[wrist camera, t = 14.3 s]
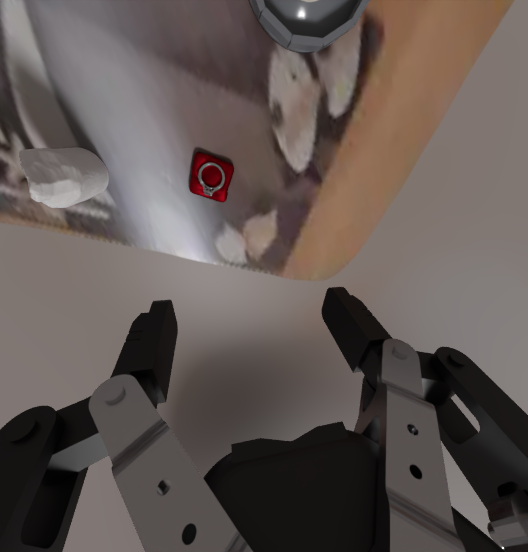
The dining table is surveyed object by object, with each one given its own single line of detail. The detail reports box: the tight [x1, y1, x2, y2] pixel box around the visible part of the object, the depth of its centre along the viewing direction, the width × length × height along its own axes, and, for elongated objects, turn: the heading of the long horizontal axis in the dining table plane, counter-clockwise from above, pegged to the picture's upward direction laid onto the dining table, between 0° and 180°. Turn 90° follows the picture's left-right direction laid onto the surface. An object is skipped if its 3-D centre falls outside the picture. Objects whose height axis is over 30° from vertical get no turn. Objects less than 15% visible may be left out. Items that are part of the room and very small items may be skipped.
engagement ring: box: [189, 152, 234, 202], centre depth 33 cm, size 6×6×3 cm
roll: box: [19, 147, 109, 208], centre depth 25 cm, size 6×12×6 cm
